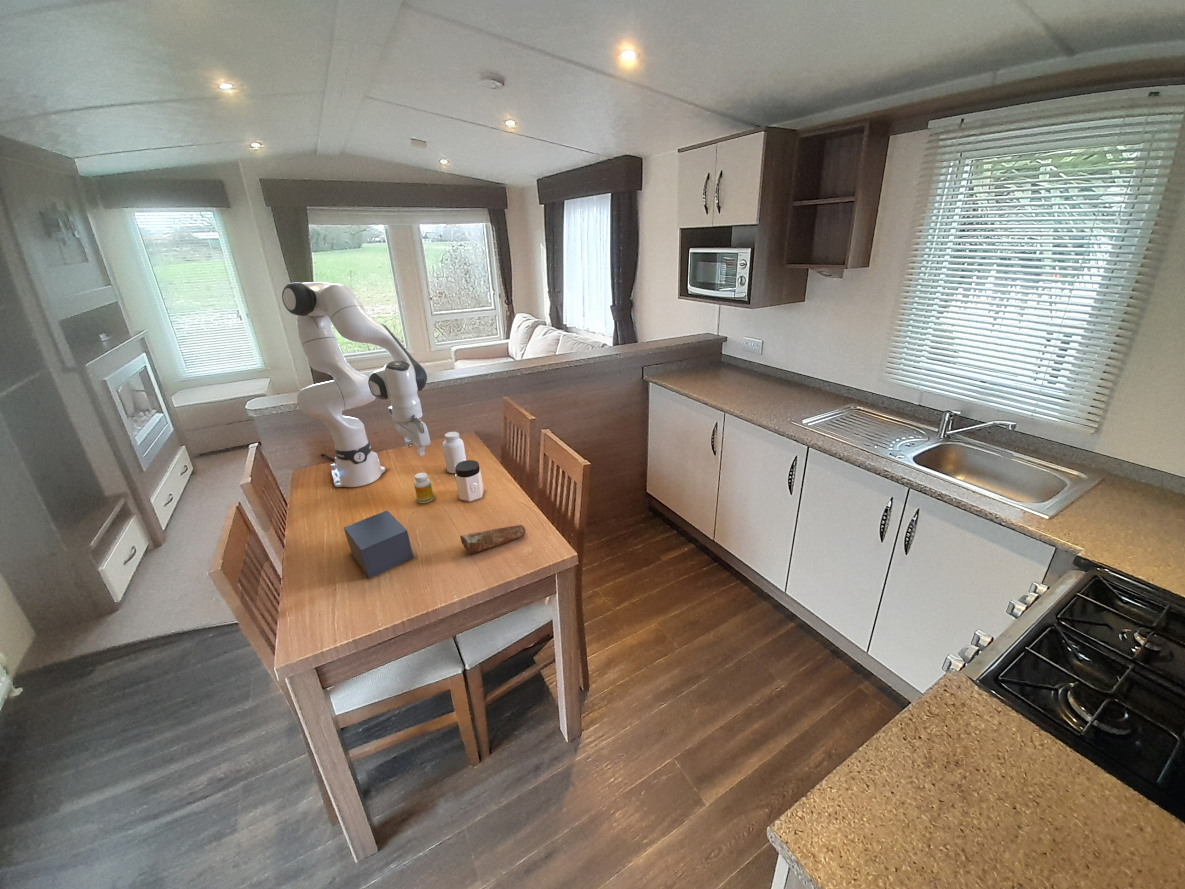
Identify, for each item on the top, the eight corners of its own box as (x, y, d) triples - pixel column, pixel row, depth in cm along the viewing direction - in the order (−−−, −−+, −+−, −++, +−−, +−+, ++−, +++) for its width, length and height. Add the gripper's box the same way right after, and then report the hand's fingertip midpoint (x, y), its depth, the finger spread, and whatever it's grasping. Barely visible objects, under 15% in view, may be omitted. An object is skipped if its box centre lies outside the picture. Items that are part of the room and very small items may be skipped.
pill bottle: (471, 465, 189) (466, 431, 183) (460, 475, 182) (454, 439, 176) (454, 463, 192) (448, 429, 185) (442, 472, 185) (436, 437, 179)
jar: (463, 504, 163) (458, 473, 158) (455, 494, 169) (450, 464, 164) (488, 496, 168) (483, 466, 163) (479, 486, 174) (474, 457, 169)
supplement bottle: (433, 502, 165) (428, 477, 161) (417, 504, 164) (412, 480, 160) (433, 494, 170) (428, 470, 166) (417, 497, 169) (412, 473, 164)
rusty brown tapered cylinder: (461, 547, 141) (458, 532, 139) (523, 530, 148) (521, 515, 146) (466, 560, 136) (463, 544, 134) (529, 541, 143) (527, 525, 141)
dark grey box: (351, 554, 140) (343, 527, 136) (394, 536, 148) (387, 510, 143) (369, 578, 130) (361, 550, 126) (413, 557, 138) (407, 530, 134)
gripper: (431, 417, 148) (438, 457, 154) (404, 402, 162) (412, 439, 167) (411, 423, 144) (419, 463, 150) (385, 407, 158) (394, 444, 164)
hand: (415, 450), depth 159 cm, fingers open, 8 cm apart
